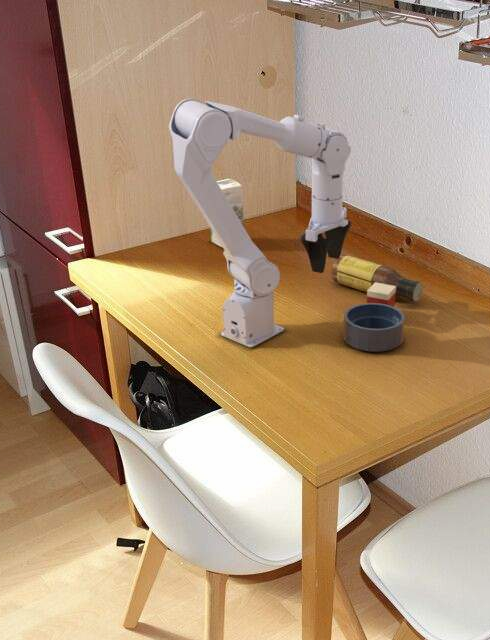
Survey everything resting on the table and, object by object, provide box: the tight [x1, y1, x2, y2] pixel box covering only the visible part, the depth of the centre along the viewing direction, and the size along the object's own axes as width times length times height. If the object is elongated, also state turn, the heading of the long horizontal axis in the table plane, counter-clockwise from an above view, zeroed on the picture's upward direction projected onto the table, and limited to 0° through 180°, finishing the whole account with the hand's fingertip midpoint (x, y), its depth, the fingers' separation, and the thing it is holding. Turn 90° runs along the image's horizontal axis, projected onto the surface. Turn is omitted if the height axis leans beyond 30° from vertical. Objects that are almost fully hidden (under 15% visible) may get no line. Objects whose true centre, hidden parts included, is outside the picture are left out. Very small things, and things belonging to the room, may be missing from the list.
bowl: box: [342, 302, 406, 353], centre depth 154 cm, size 11×11×5 cm
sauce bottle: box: [330, 254, 424, 302], centre depth 172 cm, size 7×6×20 cm
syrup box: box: [210, 178, 244, 249], centre depth 192 cm, size 6×6×14 cm
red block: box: [366, 282, 396, 308], centre depth 163 cm, size 4×4×6 cm
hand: (326, 264), depth 160 cm, fingers open, 7 cm apart
